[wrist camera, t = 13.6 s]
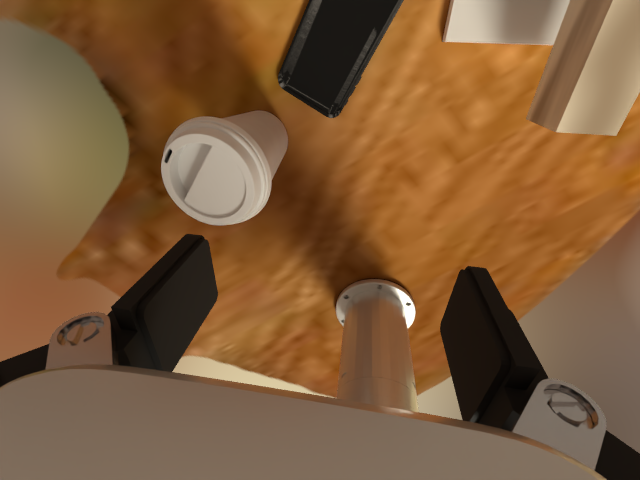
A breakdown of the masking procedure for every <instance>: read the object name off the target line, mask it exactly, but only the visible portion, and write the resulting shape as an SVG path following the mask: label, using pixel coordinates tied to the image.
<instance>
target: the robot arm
mask: <svg viewBox="0 0 640 480" xmlns="http://www.w3.org/2000/svg"><path fill="white" fill-rule="evenodd" d="M217 297H218V292H217V286H216V280H215V275H214V269H213V264H212V258H211V253H210V247H209V243H208V241H207V240H205V239H204V237H203V236H202V235H193V234H186V235H185V236H184V237H183V238H182V239H181V240H180V241H178V242H177V243H176V244H175V245H174V246H173V247H172V248H171V249H170V250H169V251H168V252H167V253H166V254H165V255H164V256H163V257H162V258H161V259H160V260H159V261H158V262H157V263H156V264H155V265H154V266H153V267H152V268H151V269H150V270H149V271H148V272H147V273H146V274H145V275H144V276H143V277H142V278H140V279H139V280H138V281H137V282H136V283H135V284H134V285H133V286H132V287H131V288H130V289H129V290H128V291H127V292H126V293H125V294H124V295H123V296H122V297H121V298H120V299H119V300H118V301H117V302H116V303H115V304H114V305H113V306H112V307H111V308H112V311H111V312H110V313H109V314H108V315H106V314H104V313H100V312H90V313H85V314H81V315H78V316H76V317H73V318H71V319H70V320H68V321H66V322H64V323H63V324H62V325H61V326H59V327H58V328H57V329H56V330H55V332H54V333H53V334H52V336H51V339H50V343H49V344H48V345H45V346H42V347H40V348H37V349H34V350H32V351H29V352H26V353H23V354H20V355H18V356H15V357H13V358H10V359H7V360H5V361H2V362H0V480H640V454H639V453H638V452H636V451H635V450H634V449H632V448H631V447H629V446H628V445H626V444H625V443H624V442H622V441H621V440H619V439H618V438H616V437H615V436H614V435H612V434H611V433H609V432H608V431H607V430H606V419H605V416H604V414H603V412H602V410H601V409H600V408H599V406H598V405H597V404H596V403H595V402H594V401H593V400H592V399H591V398H590V397H589V396H588V395H587V394H586V393H584V392H583V391H582V390H580V389H579V388H577V387H575V386H573V385H571V384H570V383H567V382H565V381H561V380H558V379H549V378H548V376H547V374H546V372H545V371H544V369H543V367H542V365H541V363H540V361H539V360H538V358H537V356H536V354H535V352H534V351H533V349H532V347H531V345H530V343H529V342H528V340H527V338H526V336H525V334H524V332H523V331H522V329H521V327H520V325H519V323H518V322H517V320H516V318H515V316H514V314H513V313H512V312H511V310H509V309H508V307H507V306H506V304H505V302H504V300H503V298H502V296H501V295H500V293H499V291H498V289H497V287H496V285H495V283H494V282H493V280H492V278H491V276H490V274H489V272H488V271H487V269H486V268H480V267H471V266H468V267H466V269H465V270H460V272H459V274H458V277H457V280H456V283H455V285H454V288H453V291H452V294H451V296H450V299H449V302H448V305H447V308H446V310H445V313H444V316H443V319H442V321H441V326H440V332H441V336H442V340H443V344H444V348H445V352H446V356H447V360H448V364H449V368H450V372H451V376H452V380H453V383H454V387H455V392H456V396H457V399H458V403H459V407H460V411H461V415H462V419H463V420H457V419H452V418H446V417H441V416H436V415H430V414H425V413H419V409H418V402H417V395H416V387H415V380H414V372H413V365H412V357H411V350H410V343H409V335H408V328H409V327H410V326H411V324H412V323H413V321H414V319H415V313H416V311H415V305H414V301H413V299H412V297H411V295H410V294H409V293H408V292H407V291H406V290H405V289H404V288H402V287H401V286H399V285H397V284H395V283H393V282H390V281H387V280H381V279H367V280H361V281H358V282H355V283H353V284H351V285H349V286H348V287H347V288H345V289H344V290H343V291H342V292H341V294H340V295H339V297H338V299H337V303H336V315H337V318H338V320H339V322H340V323H341V324H342V326H343V327H344V328H343V338H342V349H341V359H340V369H339V380H338V390H337V399H336V398H330V397H324V396H318V395H312V394H305V393H300V392H294V391H288V390H281V389H275V388H269V387H263V386H256V385H251V384H244V383H238V382H232V381H225V380H218V379H212V378H206V377H200V376H193V375H187V374H181V373H174V372H172V371H173V370H174V368H175V366H176V365H177V363H178V361H179V360H180V358H181V357H182V355H183V354H184V352H185V350H186V349H187V347H188V346H189V344H190V342H191V341H192V339H193V338H194V336H195V334H196V333H197V331H198V330H199V328H200V326H201V325H202V323H203V322H204V320H205V318H206V317H207V315H208V314H209V312H210V310H211V309H212V307H213V306H214V304H215V302H216V300H217Z"/></svg>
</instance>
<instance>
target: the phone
mask: <svg viewBox="0 0 640 480" xmlns="http://www.w3.org/2000/svg"><path fill="white" fill-rule="evenodd" d="M402 2H403V0H309V3H308V5H307V7H306V10H305V12H304V15H303V17H302V19H301V22H300V24H299V27H298V29H297V31H296V34H295V36H294V39H293V41H292V43H291V46H290V48H289V51H288V53H287V55H286V58H285V60H284V63H283V65H282V67H281V70H280V72H279V75H278V82H279V85H280V86H281V88H282V89H284V90H285V91H287V92H288V93H290V94H291V95H293V96H295V97H296V98H298V99H299V100H301V101H303V102H304V103H306V104H307V105H309V106H310V107H312V108H314V109H315V110H317V111H318V112H320V113H322V114H323V115H325V116H326V117H329V118H334V117H337V116H338V115H339V114H340V113H341V111H342V109H343V107H344V105H346V103H347V101H348V98H349V97H350V96H351V95H352V93H353V91H354V89H355V88H356V87H355V86H356V85H357V84H358V83H359V81H360V79H361V75H362V73H363V72H364V70H365V68H366V66H367V65H368V63H369V61H370V59H371V57H372V56H373V54H374V52H375V50H376V49H377V47H378V45H379V43H380V41H381V40H382V38H383V36H384V34H385V33H386V31H387V29H388V27H389V25H390V24H391V22H392V20H393V18H394V16H395V15H396V13H397V11H398V9H399V8H400V6H401V4H402Z"/></svg>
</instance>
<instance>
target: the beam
mask: <svg viewBox="0 0 640 480" xmlns="http://www.w3.org/2000/svg"><path fill="white" fill-rule="evenodd" d="M639 92H640V0H570V2H569V5H568V7H567V10H566V13H565V15H564V18H563V21H562V23H561V26H560V29H559V32H558V34H557V37H556V40H555V42H554V45H553V48H552V50H551V53H550V56H549V58H548V61H547V64H546V66H545V69H544V72H543V75H542V77H541V80H540V83H539V85H538V88H537V91H536V93H535V96H534V99H533V101H532V104H531V107H530V109H529V112H528V115H527V117H526V119H527V120H529V121H532V122H534V123H536V124H538V125H541V126H543V127H545V128H548V129H550V130H552V131H554V132H563V133H580V134H597V135H614V136H616V135H617V133H618V131H619V129H620V127H621V126H622V124H623V122H624V120H625V118H626V116H627V114H628V113H629V111H630V109H631V107H632V105H633V103H634V101H635V100H636V98H637V96H638V94H639Z"/></svg>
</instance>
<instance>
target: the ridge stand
mask: <svg viewBox="0 0 640 480" xmlns="http://www.w3.org/2000/svg"><path fill="white" fill-rule="evenodd" d="M569 2H570V0H451V1H450V6H449V11H448V16H447V21H446V26H445V30H444V35H443V40H442V42H465V43H498V44H530V45H554V42H555V40H556V37H557V34H558V32H559V29H560V26H561V23H562V21H563V18H564V15H565V13H566V10H567V7H568V5H569Z"/></svg>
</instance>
